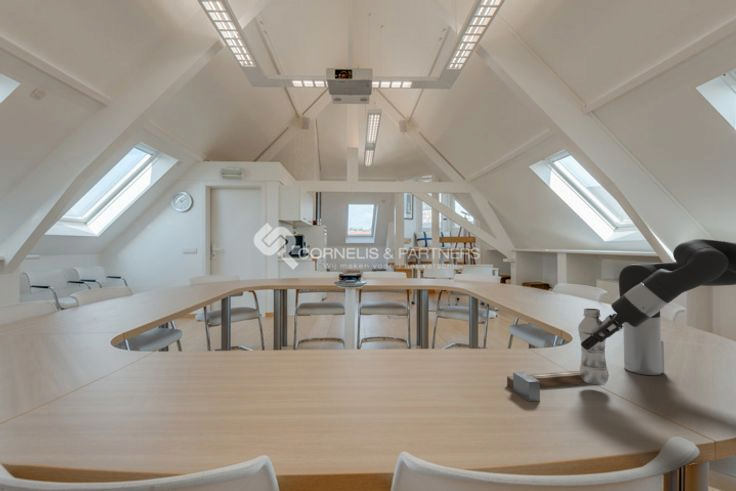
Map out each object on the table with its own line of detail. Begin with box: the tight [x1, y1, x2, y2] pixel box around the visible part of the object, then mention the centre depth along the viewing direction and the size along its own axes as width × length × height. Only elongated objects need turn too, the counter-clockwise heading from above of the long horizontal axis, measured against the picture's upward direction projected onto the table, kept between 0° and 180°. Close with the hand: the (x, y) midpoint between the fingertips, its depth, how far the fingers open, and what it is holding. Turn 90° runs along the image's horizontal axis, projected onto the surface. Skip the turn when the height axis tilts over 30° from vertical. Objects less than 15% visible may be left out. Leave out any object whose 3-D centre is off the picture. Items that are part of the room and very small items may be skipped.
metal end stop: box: [512, 371, 541, 403], centre depth 93 cm, size 3×7×5 cm, turn 9°
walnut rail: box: [506, 370, 588, 390], centre depth 101 cm, size 28×3×3 cm, turn 99°
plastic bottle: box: [577, 307, 610, 386], centre depth 96 cm, size 6×7×20 cm
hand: (585, 344), depth 97 cm, fingers closed on plastic bottle, 6 cm apart
